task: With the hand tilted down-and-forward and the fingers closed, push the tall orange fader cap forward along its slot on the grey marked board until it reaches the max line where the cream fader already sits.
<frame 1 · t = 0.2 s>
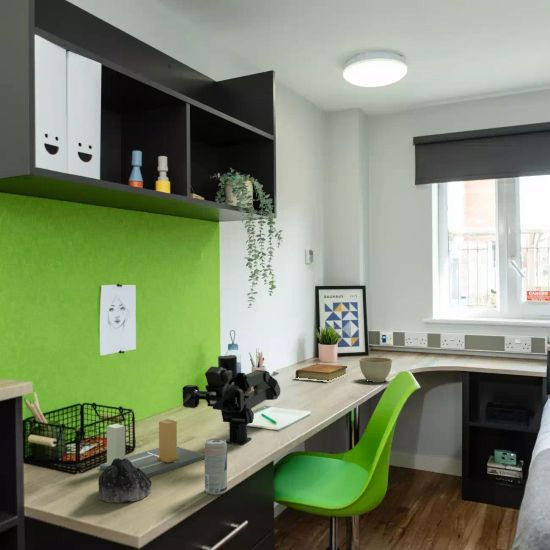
hand: (198, 405, 154), 17 cm above the table, tool horizontal, fingers open, 9 cm apart
crystal cluster: (124, 495, 134), on the table
orange fader: (167, 440, 156), point 7 cm above the table, slide at 0.0 cm
diary: (321, 379, 291), on the table
cream fader: (116, 445, 151), point 7 cm above the table, slide at 9.0 cm
grey marked board: (154, 463, 157), on the table
energy drink: (216, 492, 136), on the table
planter bowl: (375, 381, 280), on the table
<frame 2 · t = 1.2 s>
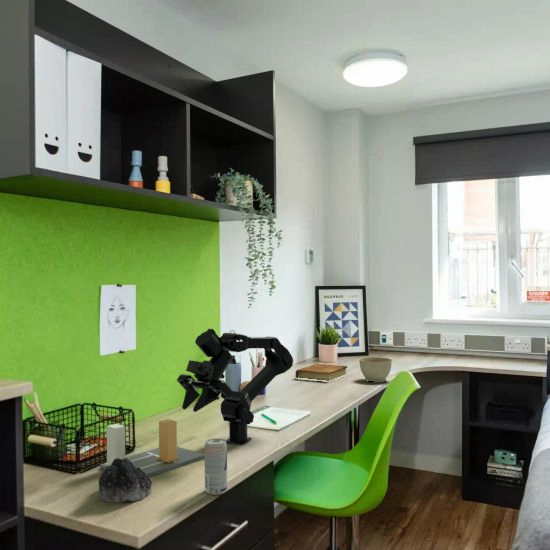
hand: (188, 409, 162), 14 cm above the table, tool tilted 45°, fingers open, 4 cm apart
nothing on the table moved.
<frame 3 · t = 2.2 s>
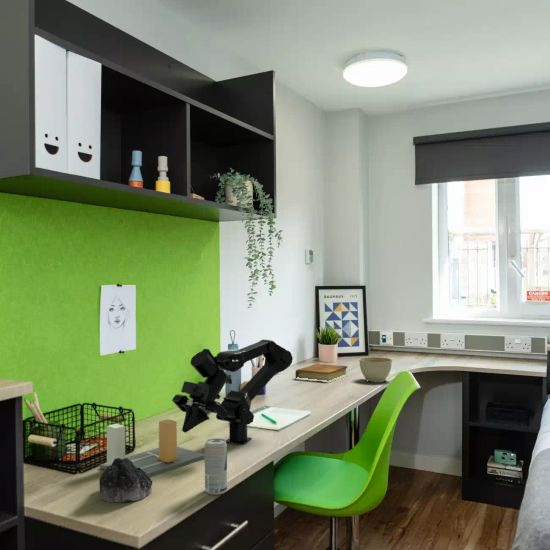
hand: (183, 431, 160), 8 cm above the table, tool tilted 45°, fingers closed
nothing on the table moved.
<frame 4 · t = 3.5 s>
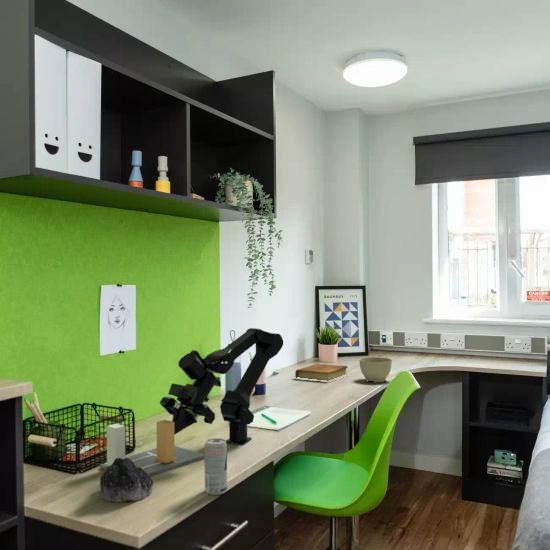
hand: (170, 434, 157), 8 cm above the table, tool tilted 45°, fingers closed, pressing on orange fader
orange fader: (165, 440, 155), point 7 cm above the table, slide at 0.8 cm, touching gripper
everything else where it was.
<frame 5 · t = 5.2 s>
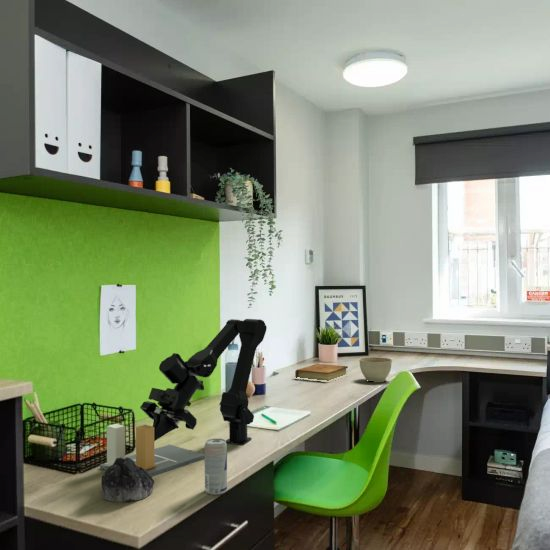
hand: (150, 441, 152), 8 cm above the table, tool tilted 45°, fingers closed, pressing on orange fader
orange fader: (145, 446, 150), point 7 cm above the table, slide at 7.6 cm, touching gripper
everything else where it was.
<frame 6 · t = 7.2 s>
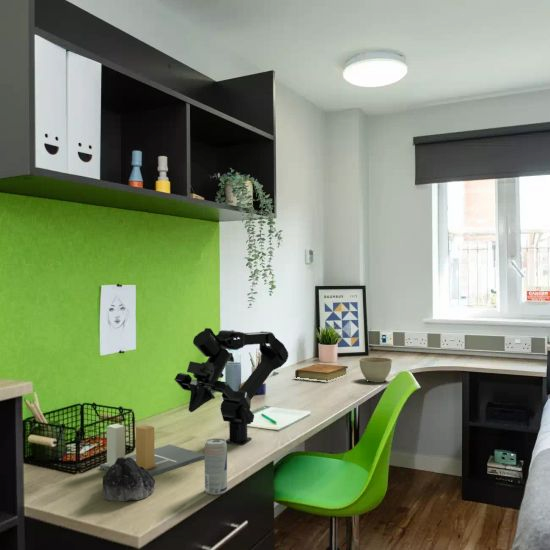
hand: (190, 411, 161), 13 cm above the table, tool tilted 40°, fingers closed
orange fader: (145, 446, 150), point 7 cm above the table, slide at 7.6 cm
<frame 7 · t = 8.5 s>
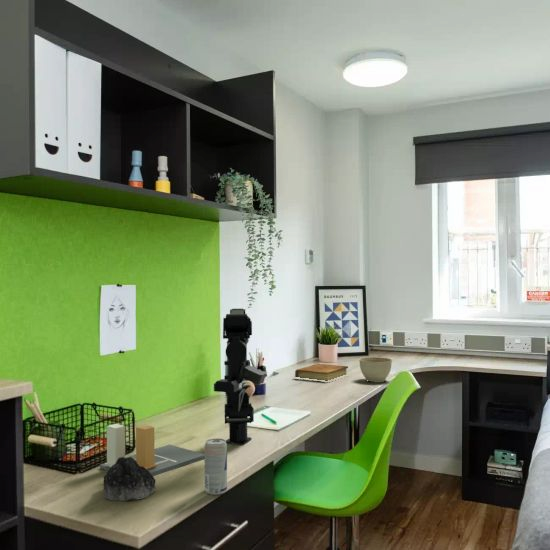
hand: (237, 411, 162), 13 cm above the table, tool pointing down, fingers closed
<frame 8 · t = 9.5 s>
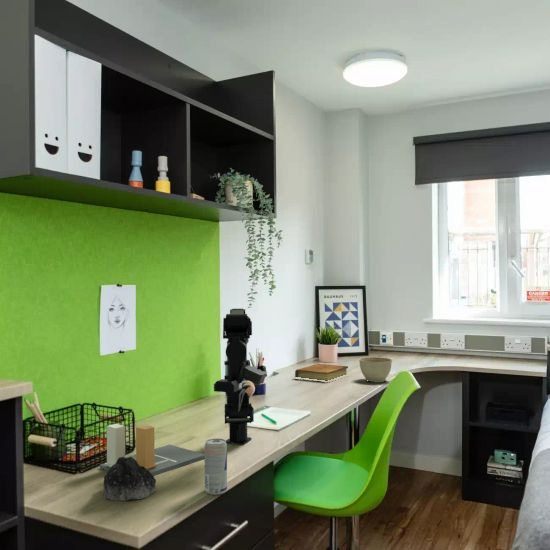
hand: (237, 411, 162), 13 cm above the table, tool pointing down, fingers closed
at the end: orange fader slide at 7.6 cm; cream fader slide at 9.0 cm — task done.
